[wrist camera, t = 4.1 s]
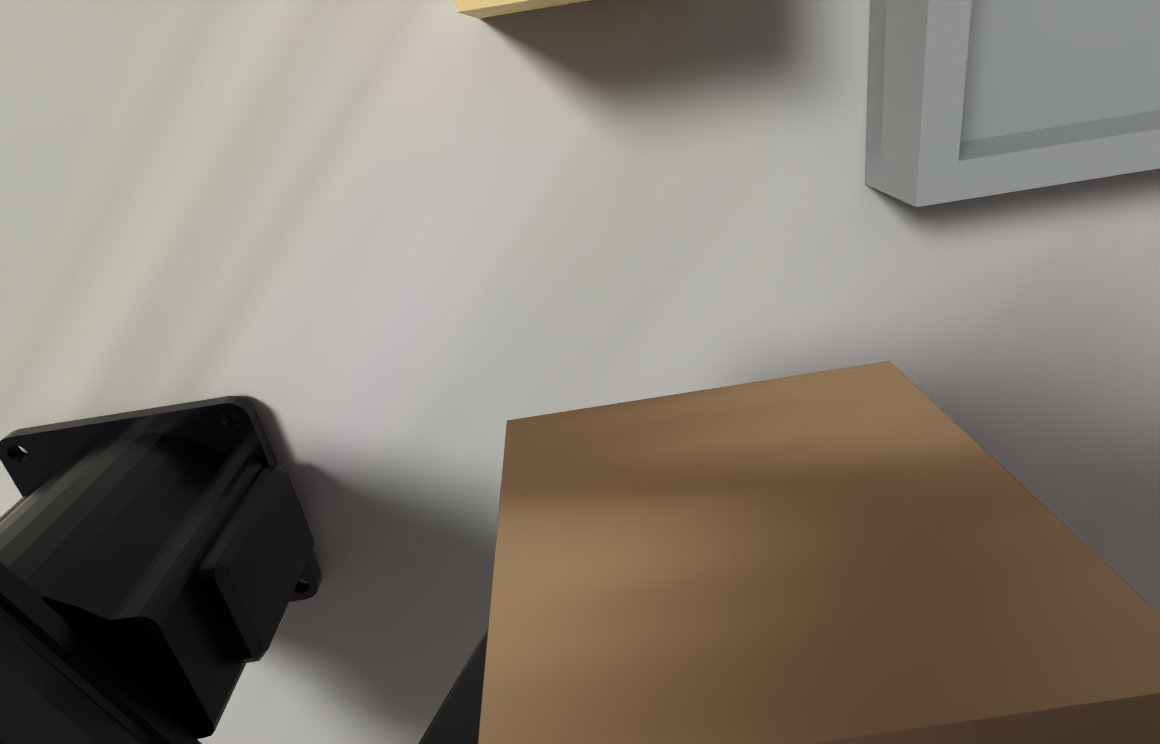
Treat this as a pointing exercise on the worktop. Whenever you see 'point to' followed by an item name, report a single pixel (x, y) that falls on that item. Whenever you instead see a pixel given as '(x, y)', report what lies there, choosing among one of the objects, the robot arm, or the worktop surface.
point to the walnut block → (798, 581)
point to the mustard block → (505, 6)
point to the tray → (1009, 95)
